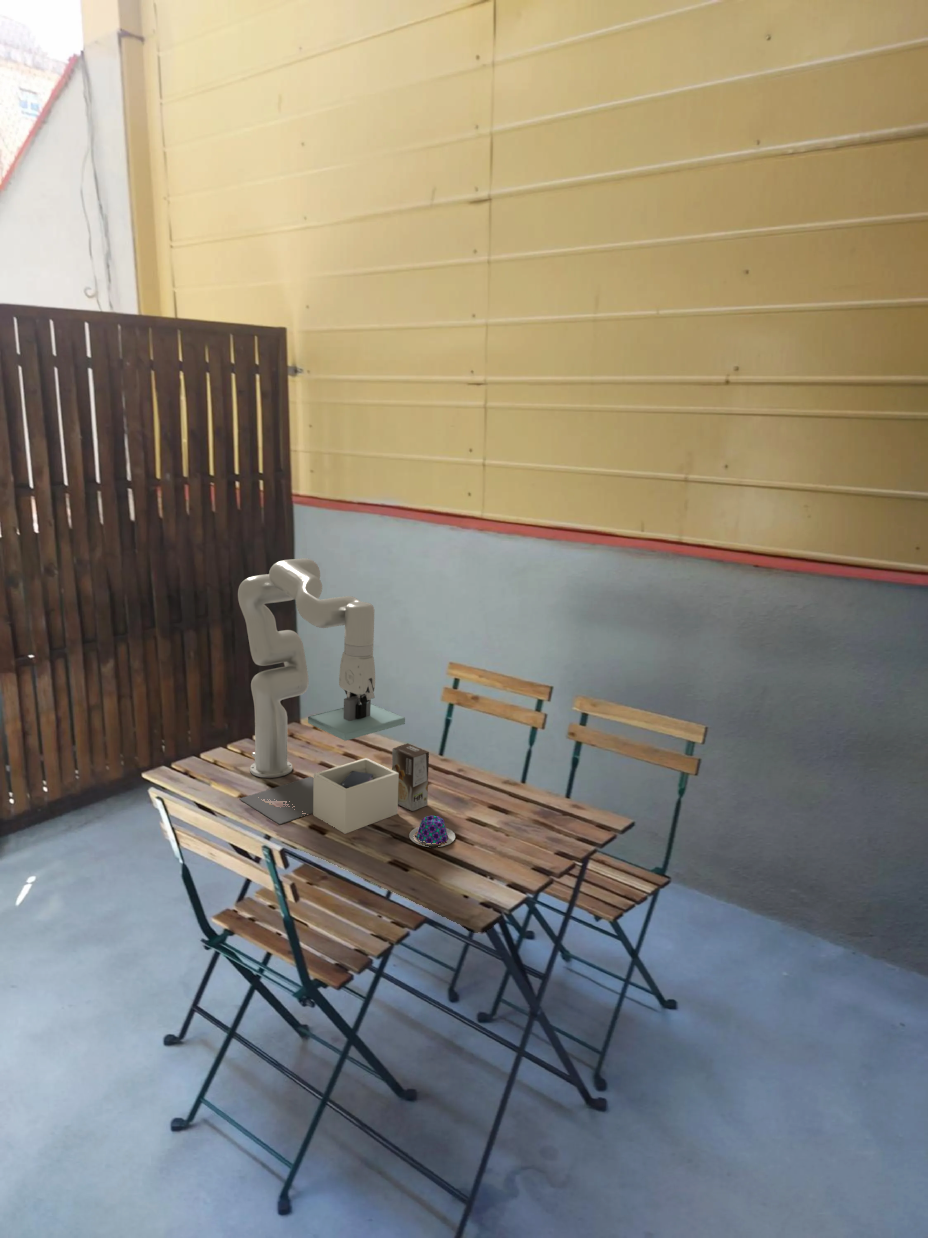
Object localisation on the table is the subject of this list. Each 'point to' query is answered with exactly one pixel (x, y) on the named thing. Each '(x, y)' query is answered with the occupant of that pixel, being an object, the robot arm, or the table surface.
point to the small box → (356, 779)
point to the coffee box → (411, 775)
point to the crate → (355, 796)
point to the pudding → (433, 831)
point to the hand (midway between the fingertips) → (356, 715)
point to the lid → (355, 720)
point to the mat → (293, 792)
